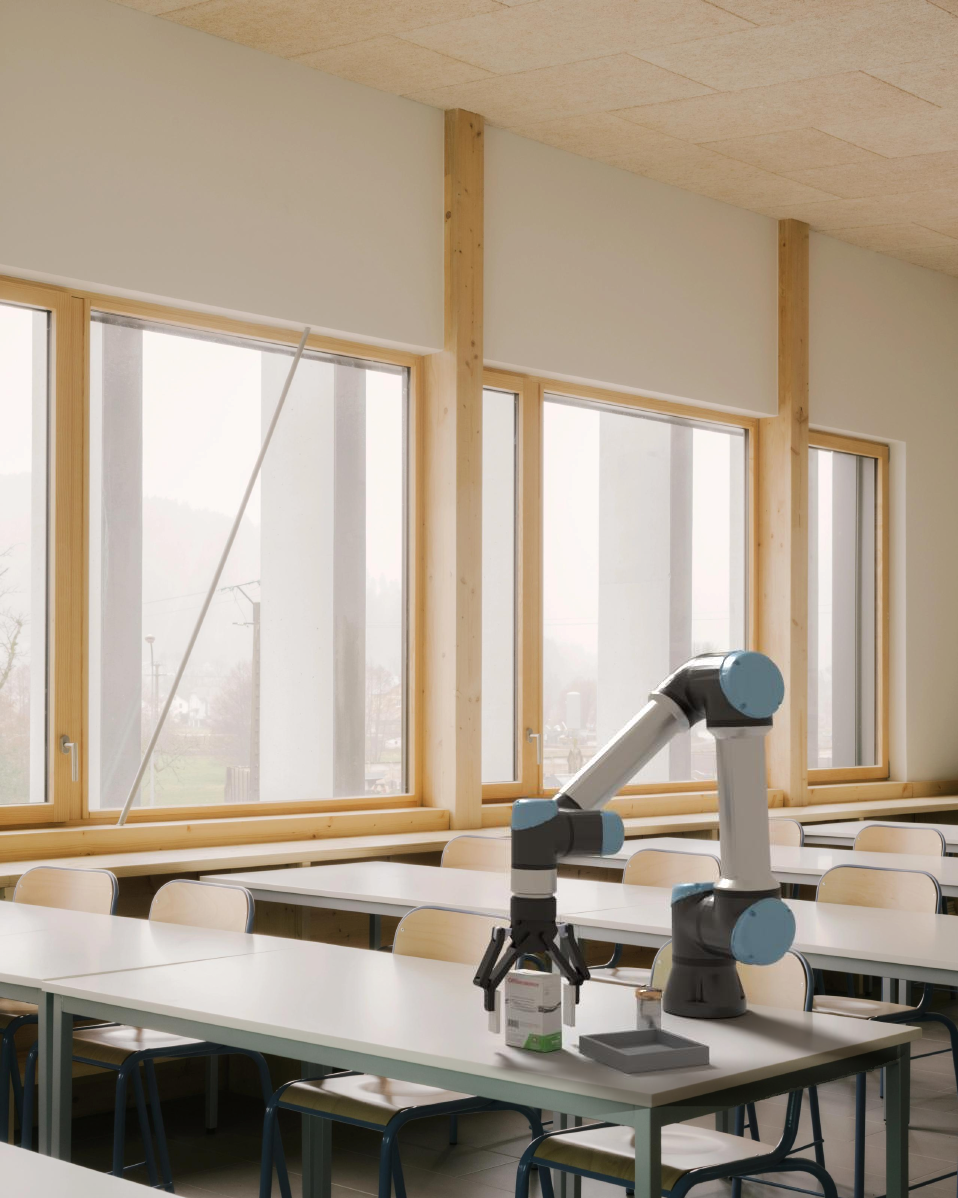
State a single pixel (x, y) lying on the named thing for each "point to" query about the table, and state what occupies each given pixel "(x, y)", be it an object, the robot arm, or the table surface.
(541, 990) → the ink box
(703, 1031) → the table surface
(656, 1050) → the parts tray
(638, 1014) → the fuse
